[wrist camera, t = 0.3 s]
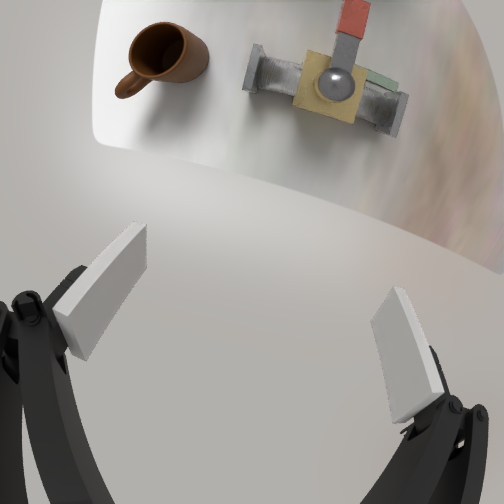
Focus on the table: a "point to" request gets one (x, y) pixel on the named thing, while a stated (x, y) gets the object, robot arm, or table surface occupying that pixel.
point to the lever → (344, 51)
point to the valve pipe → (309, 97)
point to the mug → (163, 58)
